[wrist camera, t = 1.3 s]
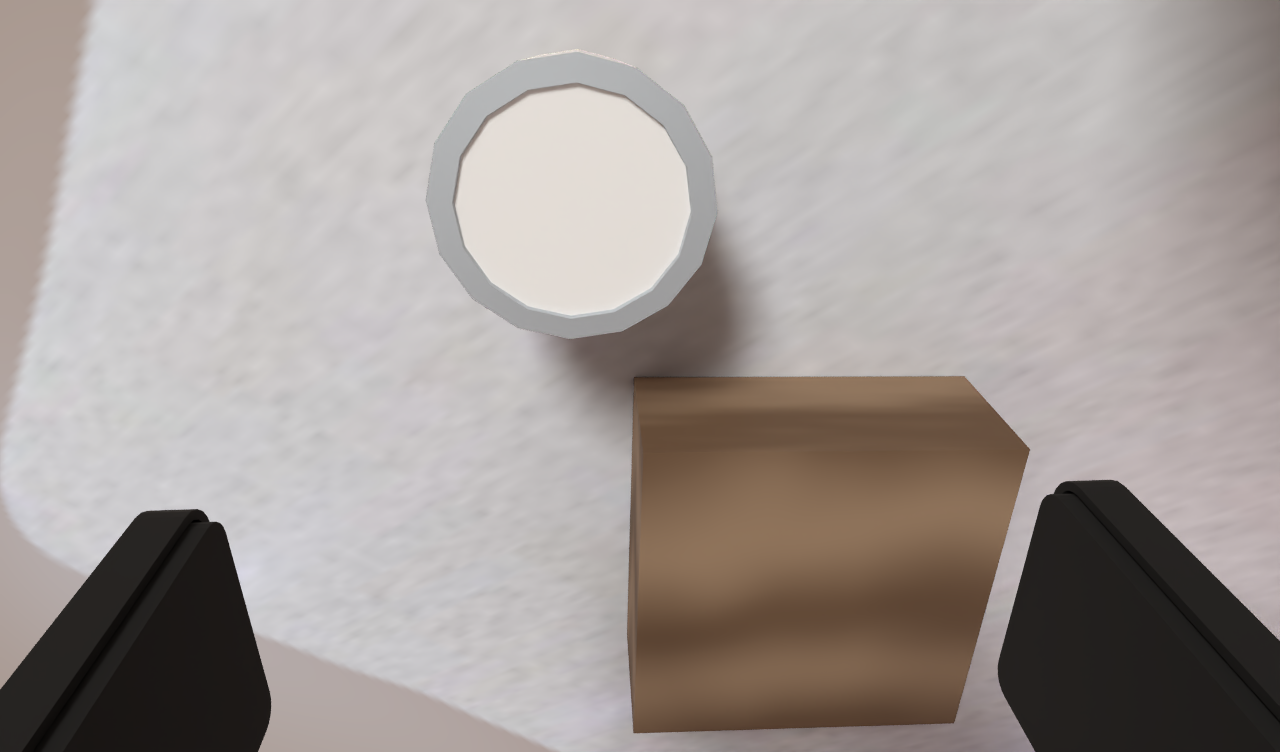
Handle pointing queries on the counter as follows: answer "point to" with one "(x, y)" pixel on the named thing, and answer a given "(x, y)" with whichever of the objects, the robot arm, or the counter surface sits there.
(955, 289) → the counter surface
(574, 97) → the white cup
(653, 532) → the walnut riser block
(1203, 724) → the robot arm
